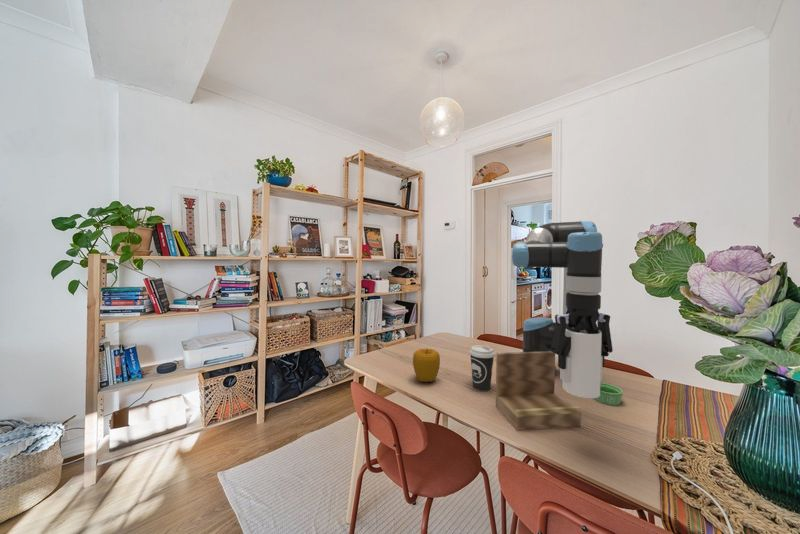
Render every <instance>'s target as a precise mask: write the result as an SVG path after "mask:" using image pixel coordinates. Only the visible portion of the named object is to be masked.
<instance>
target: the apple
mask: <svg viewBox="0 0 800 534" xmlns="http://www.w3.org/2000/svg"><path fill="white" fill-rule="evenodd" d="M412 356H413V357H412V365H413V370H414V373H415V377H416V378H417V380H418V381H420V382H423V383H425V382H426V383H430V382H434V381H435V380H436V379H437V376H438V375H439V371H440V365H441V356H440V353H439V352H438V350H436V349H433V348H420V349H418V350H416V351H414V352H413V355H412Z"/></svg>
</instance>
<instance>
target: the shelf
mask: <svg viewBox="0 0 800 534" xmlns="http://www.w3.org/2000/svg"><path fill="white" fill-rule="evenodd" d="M495 360H496V369H495V370H496V371H495V372H496V373H495V407H496V408H497V410H498V411H499V412H500V413H501V414H502V415H503V417H505V419H506V420H507V421H508V422H509V423H510V424H511V426H512V427H513V428H514V429H515V431H527V430H528V431H531V430H542V429H544V430H545V429H559V428H573V427H582V407H581V406H579V405H574V406H573V405H571V404H569V402H567V401H566V400H564V399H563V398H561V397H560V396H558V395H557V394H556V393H555V388H556V387H555V382H556V381H555V380H556V375H555V367H556V354H555V353H553V352H551V351H540V352H523V351H515V352H513V351H512V352H496V359H495Z"/></svg>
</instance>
